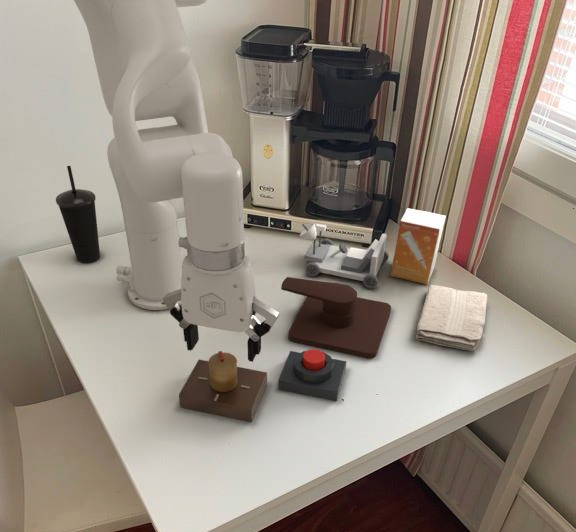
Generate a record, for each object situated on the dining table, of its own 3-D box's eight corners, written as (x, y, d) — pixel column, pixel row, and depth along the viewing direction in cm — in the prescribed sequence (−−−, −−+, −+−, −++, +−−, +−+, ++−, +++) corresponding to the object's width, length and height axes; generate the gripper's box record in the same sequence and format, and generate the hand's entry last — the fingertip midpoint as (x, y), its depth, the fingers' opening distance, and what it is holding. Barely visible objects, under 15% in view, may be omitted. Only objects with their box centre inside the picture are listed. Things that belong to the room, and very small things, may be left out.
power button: (300, 368, 101) (301, 360, 99) (305, 355, 103) (306, 347, 102) (321, 372, 100) (322, 364, 99) (326, 359, 103) (327, 351, 101)
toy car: (294, 230, 122) (311, 206, 130) (292, 272, 129) (309, 247, 137) (382, 247, 118) (394, 221, 127) (376, 290, 125) (387, 262, 133)
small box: (390, 277, 129) (399, 220, 120) (397, 262, 133) (406, 206, 124) (427, 285, 127) (440, 228, 118) (434, 270, 131) (446, 214, 122)
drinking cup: (78, 246, 134) (58, 157, 121) (111, 250, 134) (95, 160, 120) (64, 265, 129) (41, 172, 115) (99, 268, 128) (80, 176, 115)
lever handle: (295, 258, 119) (397, 277, 115) (294, 290, 124) (391, 309, 120) (268, 304, 108) (380, 327, 103) (268, 337, 112) (374, 360, 108)
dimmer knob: (240, 389, 97) (239, 366, 94) (212, 394, 96) (211, 370, 93) (234, 372, 100) (233, 348, 97) (208, 376, 99) (206, 353, 96)
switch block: (278, 389, 102) (278, 371, 99) (289, 360, 108) (290, 342, 105) (336, 401, 100) (338, 383, 98) (345, 370, 106) (347, 352, 103)
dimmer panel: (180, 408, 98) (178, 393, 96) (199, 372, 105) (198, 358, 103) (251, 422, 96) (251, 408, 94) (267, 385, 103) (267, 371, 101)
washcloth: (413, 342, 113) (416, 329, 110) (426, 291, 125) (428, 278, 123) (479, 356, 110) (483, 342, 108) (485, 302, 123) (489, 289, 121)
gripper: (145, 255, 81) (160, 355, 92) (271, 274, 78) (270, 376, 89) (167, 229, 86) (179, 327, 98) (285, 246, 83) (283, 345, 95)
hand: (223, 350), depth 93 cm, fingers open, 9 cm apart
